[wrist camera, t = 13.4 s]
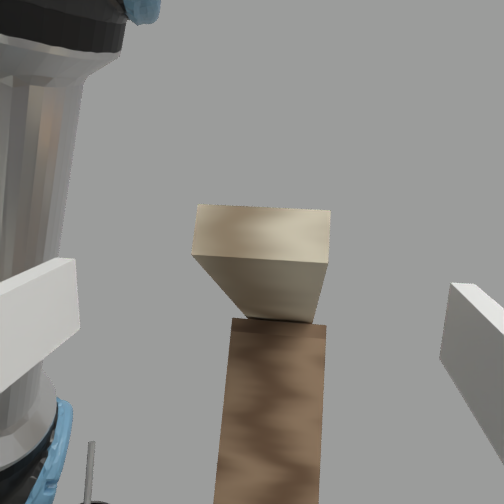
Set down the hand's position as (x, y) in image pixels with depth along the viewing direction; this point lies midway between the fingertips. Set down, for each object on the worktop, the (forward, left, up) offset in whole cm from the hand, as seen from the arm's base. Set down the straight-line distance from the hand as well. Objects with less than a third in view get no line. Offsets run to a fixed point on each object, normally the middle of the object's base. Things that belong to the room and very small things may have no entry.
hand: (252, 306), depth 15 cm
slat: (0, +11, +2) cm, 11 cm away
